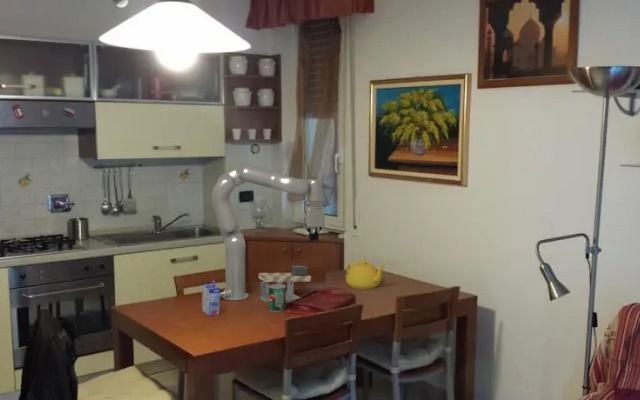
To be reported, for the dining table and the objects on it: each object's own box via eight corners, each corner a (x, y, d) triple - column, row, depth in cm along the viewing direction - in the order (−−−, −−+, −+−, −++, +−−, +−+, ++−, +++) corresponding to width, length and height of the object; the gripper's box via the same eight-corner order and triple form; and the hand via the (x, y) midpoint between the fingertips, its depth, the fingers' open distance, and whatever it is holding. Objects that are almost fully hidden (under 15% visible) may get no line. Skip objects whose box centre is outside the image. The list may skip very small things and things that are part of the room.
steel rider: (295, 277, 318) (296, 267, 318) (291, 275, 323) (292, 265, 322) (306, 277, 321) (307, 267, 321) (301, 275, 326) (302, 265, 325)
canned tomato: (289, 309, 299) (289, 285, 298) (277, 312, 293) (277, 289, 292) (277, 306, 304) (277, 283, 303) (265, 309, 299) (265, 286, 298)
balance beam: (266, 282, 309) (266, 276, 309) (258, 278, 317) (258, 272, 316) (310, 281, 320) (311, 276, 320) (302, 277, 328) (302, 272, 328)
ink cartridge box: (220, 314, 290) (220, 282, 288) (208, 316, 287) (208, 284, 286) (213, 309, 298) (213, 278, 297) (201, 310, 296) (201, 279, 294)
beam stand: (270, 304, 307) (270, 283, 306) (256, 296, 321) (256, 276, 320) (301, 300, 315) (301, 280, 314) (286, 292, 329) (286, 273, 328)
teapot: (393, 286, 344) (394, 261, 342) (374, 293, 330) (375, 266, 328) (355, 279, 359) (355, 255, 358) (335, 285, 346) (335, 260, 344)
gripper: (303, 205, 315) (303, 243, 317) (331, 204, 323) (331, 240, 325) (296, 204, 322) (296, 240, 324) (324, 202, 329) (324, 238, 331)
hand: (313, 240), depth 324 cm, fingers closed
